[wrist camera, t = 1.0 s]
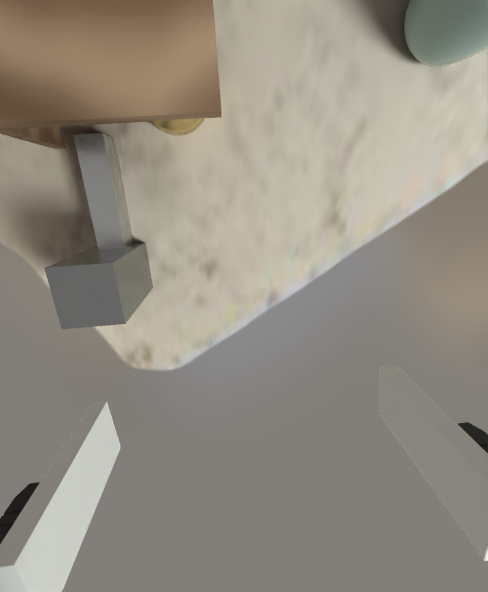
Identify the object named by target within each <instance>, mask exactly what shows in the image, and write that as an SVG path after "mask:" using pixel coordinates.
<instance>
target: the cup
mask: <svg viewBox="0 0 488 592" xmlns="http://www.w3.org/2000/svg"><path fill="white" fill-rule="evenodd" d="M404 35H405V39H406V43H407V45H408V48H409V50H410V51H411V53H412V55H413V56H414V57H415V58H416V59H417V60H418V61H420V62H421V63H423V64H425V65H428V66H431V67H432V66H446V65H450V64H453V63H457V62H459V61H462V60H465V59H467V58H469V57H471V56H473V55H475V54H478V53H480V52H481V51H483V50H485V49H487V48H488V0H410V2H409V4H408V7H407V11H406V14H405V21H404Z"/></svg>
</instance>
